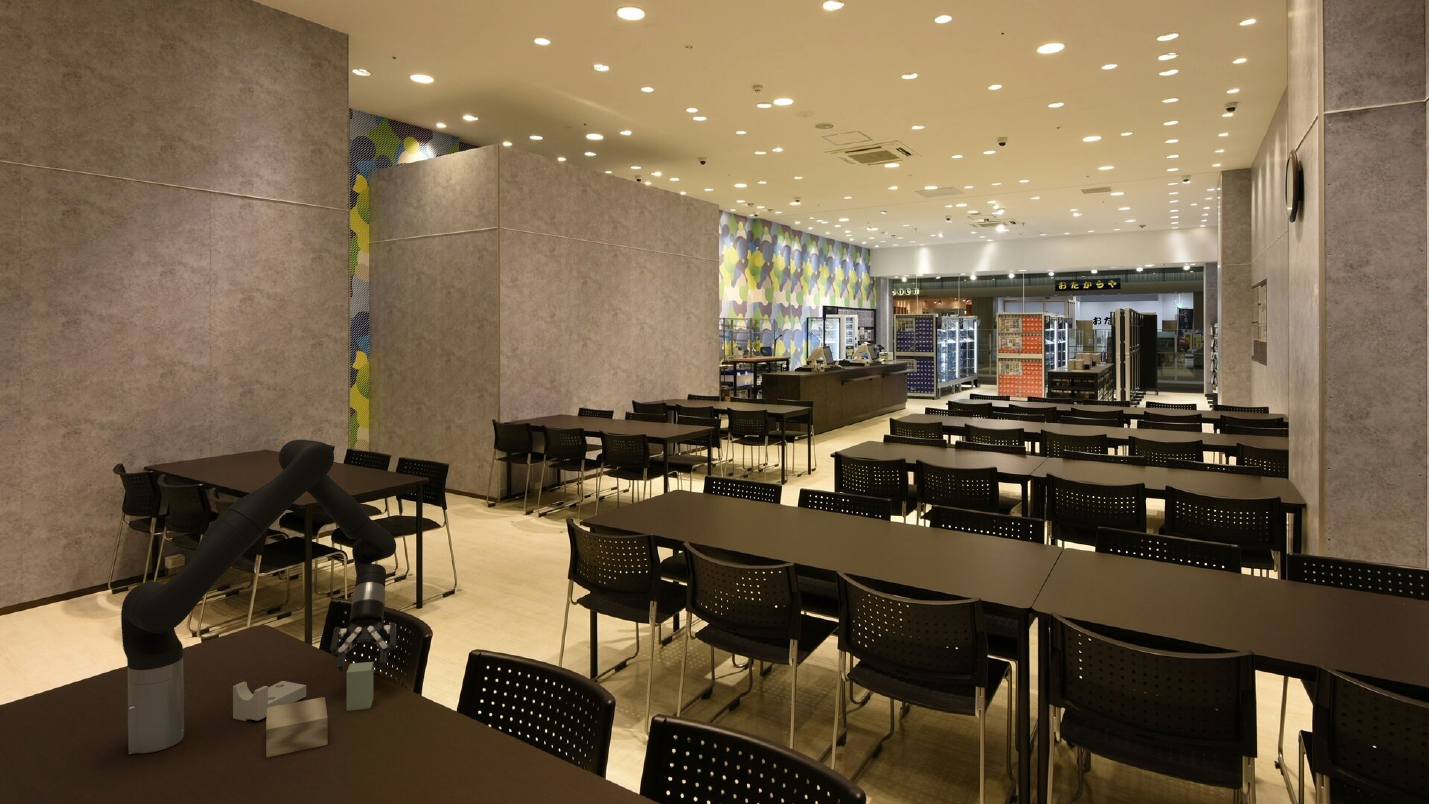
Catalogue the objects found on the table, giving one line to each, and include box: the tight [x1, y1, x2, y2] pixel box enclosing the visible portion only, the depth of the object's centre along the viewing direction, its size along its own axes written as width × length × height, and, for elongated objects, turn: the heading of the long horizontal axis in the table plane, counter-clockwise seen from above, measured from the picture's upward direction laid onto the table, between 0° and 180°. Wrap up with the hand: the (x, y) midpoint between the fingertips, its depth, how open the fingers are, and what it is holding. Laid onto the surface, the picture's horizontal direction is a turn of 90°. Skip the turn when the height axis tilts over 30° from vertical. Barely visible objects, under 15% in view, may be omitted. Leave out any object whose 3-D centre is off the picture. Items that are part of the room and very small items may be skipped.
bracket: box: [232, 680, 307, 722], centre depth 172 cm, size 13×7×8 cm, turn 163°
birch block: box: [265, 696, 329, 758], centre depth 158 cm, size 11×11×6 cm
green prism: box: [346, 661, 374, 712], centre depth 174 cm, size 5×5×9 cm
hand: (361, 668), depth 177 cm, fingers open, 8 cm apart
